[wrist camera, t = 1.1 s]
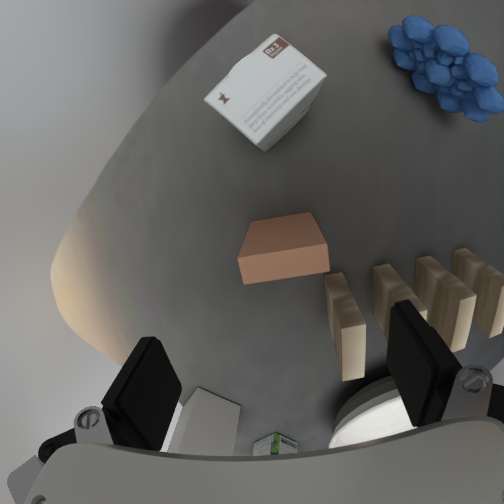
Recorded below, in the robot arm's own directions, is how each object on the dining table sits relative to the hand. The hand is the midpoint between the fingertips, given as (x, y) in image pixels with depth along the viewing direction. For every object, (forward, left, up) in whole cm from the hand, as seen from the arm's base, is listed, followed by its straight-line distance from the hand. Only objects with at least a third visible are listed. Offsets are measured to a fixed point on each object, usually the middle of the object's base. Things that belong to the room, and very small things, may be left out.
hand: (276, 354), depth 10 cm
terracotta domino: (0, 0, -19) cm, 19 cm away
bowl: (-12, +29, -19) cm, 36 cm away
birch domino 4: (-21, +9, -19) cm, 30 cm away
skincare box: (-1, -11, -19) cm, 22 cm away
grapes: (-18, -14, -19) cm, 30 cm away
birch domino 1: (-5, +9, -19) cm, 22 cm away
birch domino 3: (-16, +9, -19) cm, 26 cm away
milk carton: (+15, +26, -19) cm, 36 cm away
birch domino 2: (-10, +9, -19) cm, 24 cm away
